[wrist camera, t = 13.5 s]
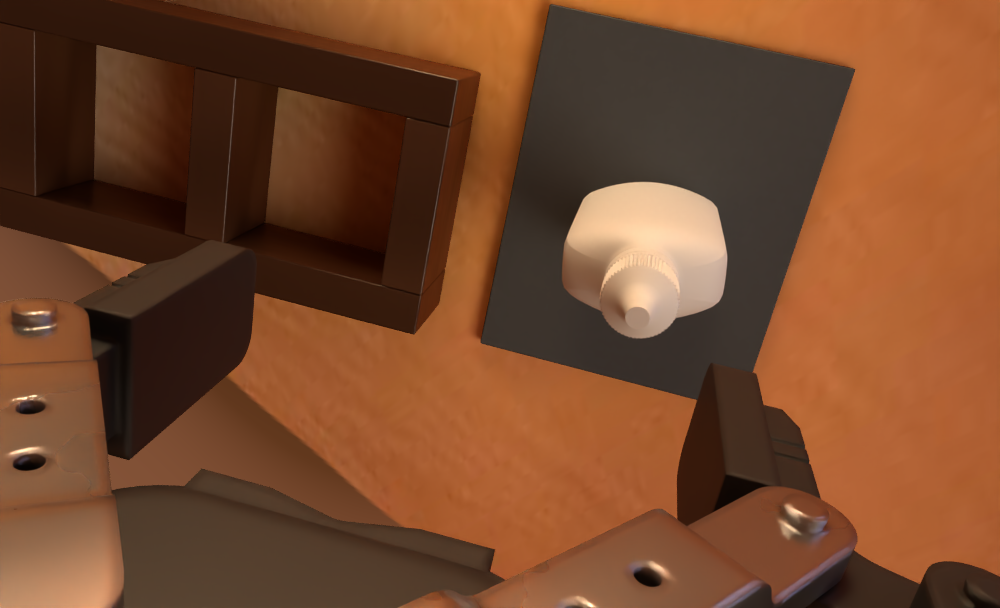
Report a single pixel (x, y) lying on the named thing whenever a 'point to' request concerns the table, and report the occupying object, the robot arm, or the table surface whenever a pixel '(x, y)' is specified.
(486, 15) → the table surface
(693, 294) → the eye dropper bottle
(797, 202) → the mat
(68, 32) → the rack
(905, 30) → the table surface
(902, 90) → the table surface
